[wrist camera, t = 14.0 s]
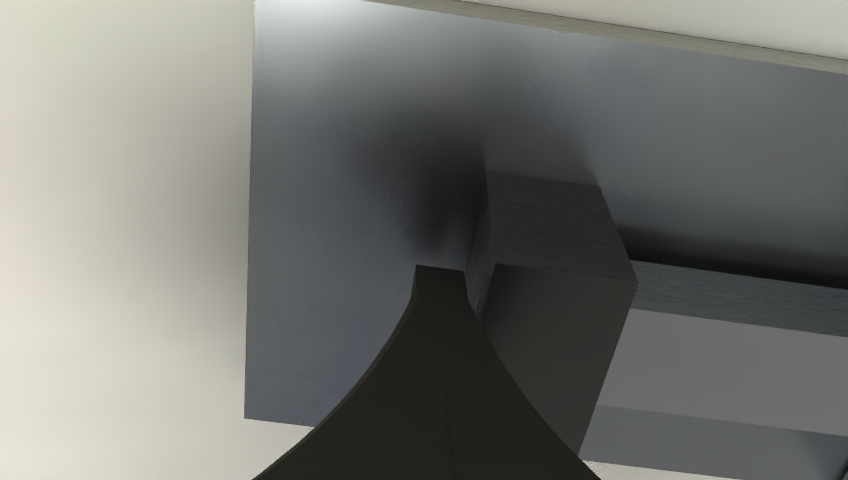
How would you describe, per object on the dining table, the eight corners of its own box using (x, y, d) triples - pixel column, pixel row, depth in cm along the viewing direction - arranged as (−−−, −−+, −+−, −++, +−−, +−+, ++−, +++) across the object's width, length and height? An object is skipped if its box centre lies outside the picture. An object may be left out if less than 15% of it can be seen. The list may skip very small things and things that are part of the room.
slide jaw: (917, 501, 16) (1043, 685, 13) (430, 441, 16) (425, 616, 12) (1184, 125, 12) (1490, 254, 8) (514, 23, 11) (545, 116, 8)
